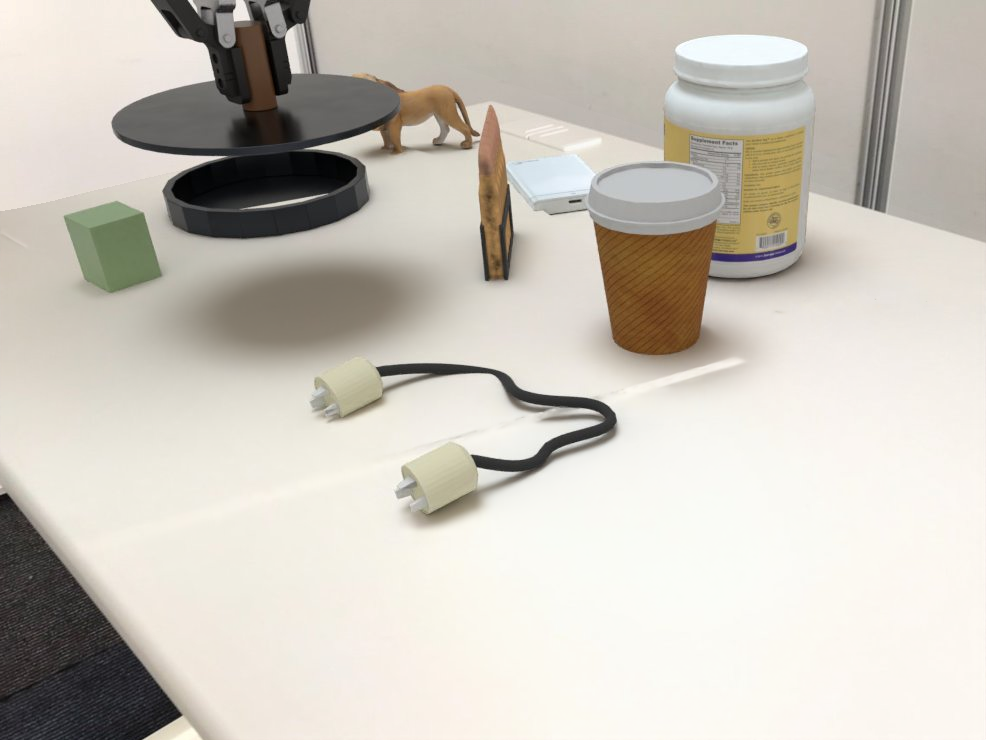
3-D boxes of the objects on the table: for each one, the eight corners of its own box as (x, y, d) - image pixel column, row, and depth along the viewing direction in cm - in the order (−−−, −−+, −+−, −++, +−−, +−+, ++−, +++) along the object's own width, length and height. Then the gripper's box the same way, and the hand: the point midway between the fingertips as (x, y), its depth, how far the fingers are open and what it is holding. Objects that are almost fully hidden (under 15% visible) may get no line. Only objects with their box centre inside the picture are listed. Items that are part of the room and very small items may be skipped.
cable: (504, 346, 77) (500, 302, 75) (639, 439, 66) (638, 391, 64) (301, 413, 69) (291, 366, 67) (416, 531, 58) (408, 480, 56)
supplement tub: (688, 222, 97) (690, 28, 87) (818, 237, 93) (835, 36, 84) (643, 272, 87) (639, 60, 78) (785, 291, 84) (800, 71, 74)
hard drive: (502, 162, 107) (533, 199, 98) (578, 152, 110) (615, 188, 100) (503, 178, 108) (534, 216, 99) (578, 168, 111) (616, 205, 101)
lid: (135, 184, 64) (102, 71, 60) (101, 109, 78) (73, 14, 74) (440, 137, 71) (428, 34, 68) (359, 76, 86) (345, -12, 82)
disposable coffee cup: (744, 332, 78) (751, 172, 71) (676, 385, 71) (677, 215, 64) (637, 303, 82) (635, 151, 75) (565, 351, 76) (555, 188, 69)
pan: (189, 259, 91) (180, 226, 90) (158, 197, 105) (150, 167, 103) (394, 219, 99) (390, 188, 97) (341, 167, 112) (335, 138, 110)
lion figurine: (364, 168, 112) (349, 81, 106) (348, 156, 115) (333, 71, 110) (489, 145, 118) (481, 61, 113) (470, 134, 121) (461, 52, 116)
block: (112, 299, 84) (88, 228, 81) (86, 285, 87) (62, 215, 84) (164, 281, 87) (143, 212, 84) (137, 268, 90) (116, 200, 86)
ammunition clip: (493, 239, 94) (480, 102, 87) (514, 238, 94) (502, 101, 87) (485, 287, 85) (469, 139, 79) (508, 286, 85) (494, 138, 79)
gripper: (263, -198, 70) (311, 71, 80) (56, -192, 62) (137, 109, 71) (329, -197, 66) (371, 87, 76) (116, -190, 58) (194, 129, 67)
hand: (257, 96), depth 74 cm, fingers closed on lid, 2 cm apart
